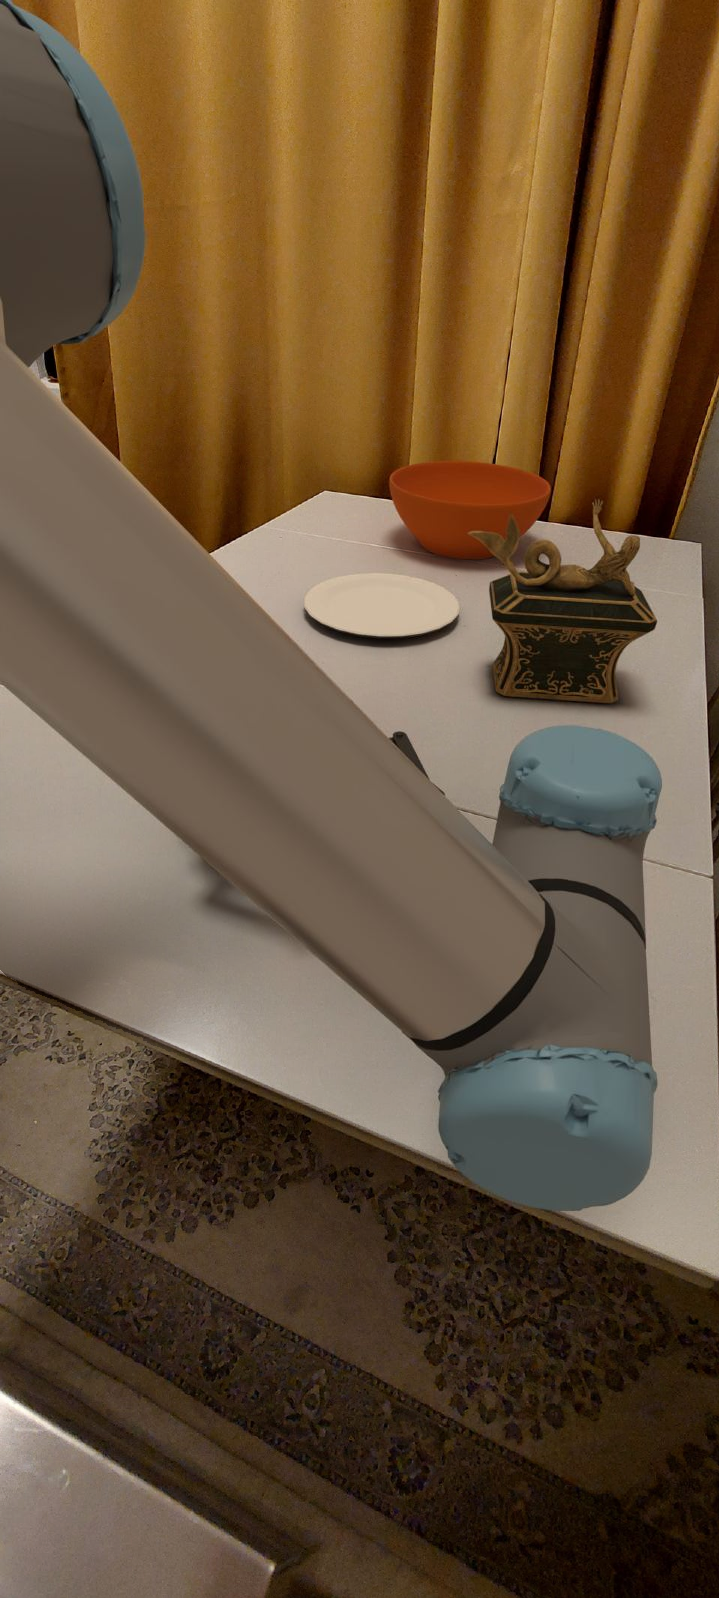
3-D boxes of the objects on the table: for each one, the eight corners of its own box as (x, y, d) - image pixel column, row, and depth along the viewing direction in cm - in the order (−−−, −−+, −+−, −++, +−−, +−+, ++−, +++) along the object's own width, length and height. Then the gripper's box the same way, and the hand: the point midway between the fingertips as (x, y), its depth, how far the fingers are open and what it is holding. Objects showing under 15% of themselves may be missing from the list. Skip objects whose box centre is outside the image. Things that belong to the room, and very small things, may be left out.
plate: (439, 658, 92) (440, 645, 90) (279, 631, 96) (278, 619, 95) (472, 595, 107) (473, 584, 106) (333, 575, 112) (333, 563, 111)
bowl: (530, 524, 134) (540, 464, 128) (549, 576, 114) (562, 508, 108) (389, 517, 135) (392, 457, 129) (383, 567, 115) (386, 499, 109)
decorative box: (618, 668, 91) (663, 498, 79) (634, 709, 83) (686, 527, 71) (451, 657, 92) (470, 487, 80) (451, 696, 84) (473, 515, 72)
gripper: (276, 1005, 48) (126, 833, 61) (534, 847, 61) (365, 733, 74) (272, 922, 43) (110, 756, 56) (551, 771, 56) (368, 664, 69)
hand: (254, 743), depth 65 cm, fingers open, 13 cm apart
